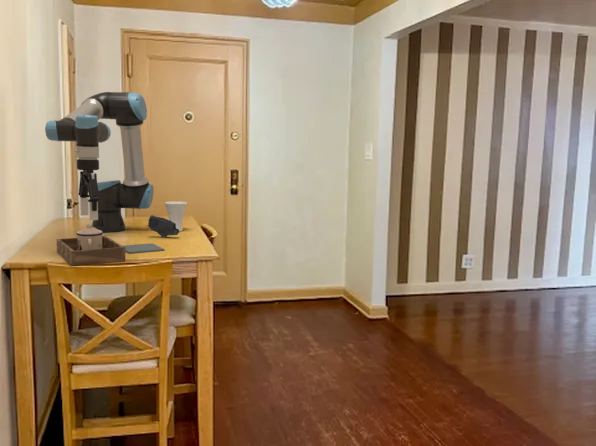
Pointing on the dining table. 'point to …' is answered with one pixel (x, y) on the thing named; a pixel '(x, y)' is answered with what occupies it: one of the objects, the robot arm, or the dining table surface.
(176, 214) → the cup
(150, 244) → the mat
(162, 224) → the stone
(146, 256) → the dining table surface
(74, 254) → the dark brown tray
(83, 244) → the teacup with lid
